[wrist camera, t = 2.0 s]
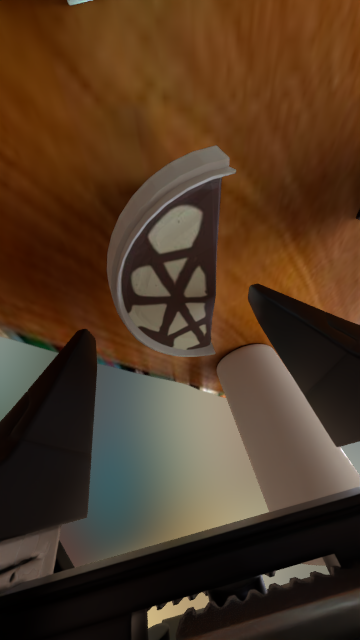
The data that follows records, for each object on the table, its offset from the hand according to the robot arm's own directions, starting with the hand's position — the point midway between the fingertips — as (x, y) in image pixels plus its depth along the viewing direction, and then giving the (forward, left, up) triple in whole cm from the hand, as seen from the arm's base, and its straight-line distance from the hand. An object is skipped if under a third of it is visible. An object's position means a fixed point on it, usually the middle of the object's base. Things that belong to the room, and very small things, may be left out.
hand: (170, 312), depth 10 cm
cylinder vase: (-12, +29, -10) cm, 33 cm away
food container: (0, 0, -10) cm, 10 cm away
